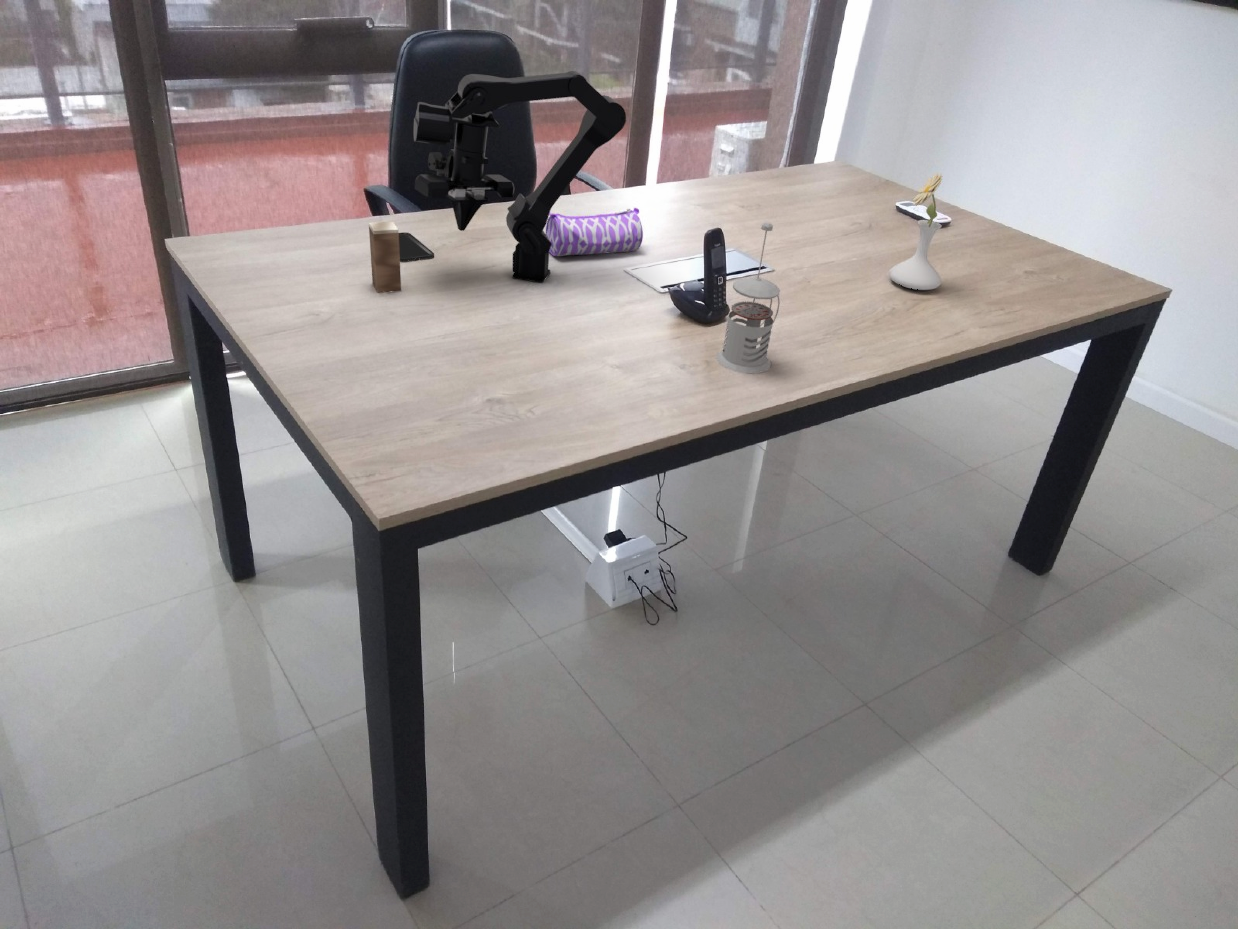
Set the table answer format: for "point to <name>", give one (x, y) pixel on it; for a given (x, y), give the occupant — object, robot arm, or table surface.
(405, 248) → the phone
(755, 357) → the french press
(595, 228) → the pencil case
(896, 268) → the flower in vase
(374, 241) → the walnut block
